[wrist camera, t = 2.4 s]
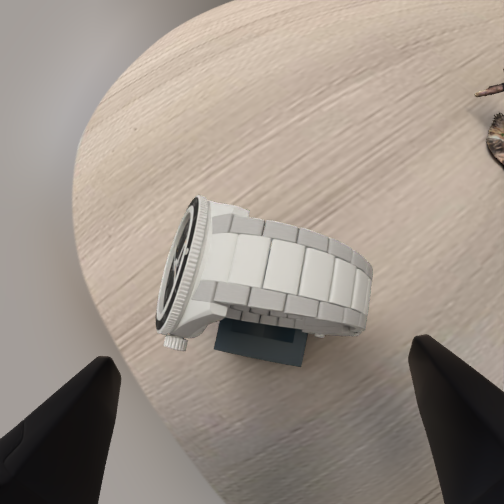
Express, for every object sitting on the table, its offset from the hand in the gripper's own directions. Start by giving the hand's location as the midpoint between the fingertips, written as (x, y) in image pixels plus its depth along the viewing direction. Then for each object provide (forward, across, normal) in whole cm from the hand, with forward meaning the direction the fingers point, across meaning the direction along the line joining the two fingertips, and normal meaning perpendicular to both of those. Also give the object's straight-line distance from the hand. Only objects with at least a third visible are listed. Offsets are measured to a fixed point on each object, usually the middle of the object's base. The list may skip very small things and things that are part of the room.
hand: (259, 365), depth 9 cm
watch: (+9, 0, +5) cm, 10 cm away
